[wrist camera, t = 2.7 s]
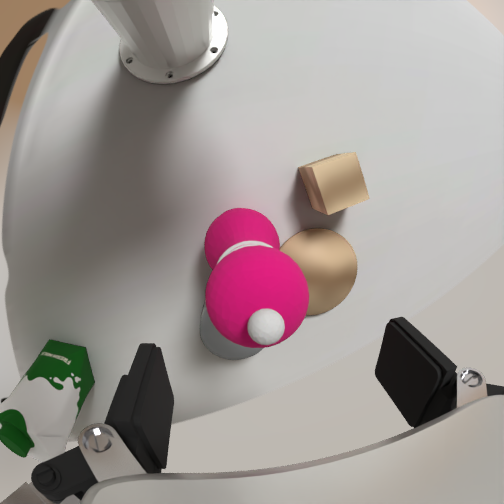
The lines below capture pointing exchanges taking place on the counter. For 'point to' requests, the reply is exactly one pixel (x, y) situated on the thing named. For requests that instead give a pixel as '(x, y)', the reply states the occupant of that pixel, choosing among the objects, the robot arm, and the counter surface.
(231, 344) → the grey rounded dome
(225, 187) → the counter surface
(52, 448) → the milk carton
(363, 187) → the oak block
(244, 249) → the pepper mill
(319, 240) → the cork trivet
